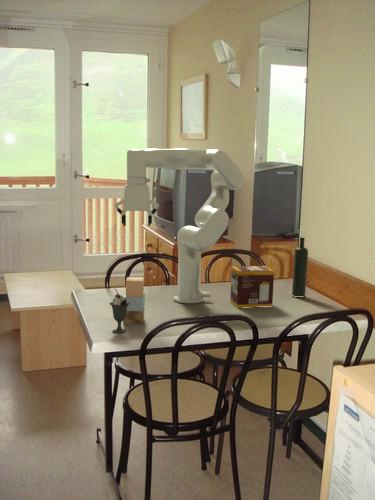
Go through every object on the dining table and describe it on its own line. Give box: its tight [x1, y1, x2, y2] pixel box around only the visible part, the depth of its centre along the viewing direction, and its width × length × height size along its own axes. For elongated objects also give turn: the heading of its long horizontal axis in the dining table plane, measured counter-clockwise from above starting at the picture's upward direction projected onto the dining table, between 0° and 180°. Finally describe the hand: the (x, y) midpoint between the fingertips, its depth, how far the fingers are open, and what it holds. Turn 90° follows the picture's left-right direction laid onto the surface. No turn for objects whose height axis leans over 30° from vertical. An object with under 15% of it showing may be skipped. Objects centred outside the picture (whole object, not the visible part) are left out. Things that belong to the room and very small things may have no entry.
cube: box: [125, 276, 145, 297], centre depth 218 cm, size 6×6×6 cm
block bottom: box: [122, 308, 145, 326], centre depth 219 cm, size 7×7×5 cm
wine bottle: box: [291, 229, 309, 297], centre depth 264 cm, size 6×6×30 cm
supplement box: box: [229, 265, 275, 309], centre depth 248 cm, size 10×15×16 cm
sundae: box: [109, 288, 129, 335], centre depth 206 cm, size 7×7×15 cm
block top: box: [123, 292, 146, 311], centre depth 218 cm, size 7×7×5 cm
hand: (136, 225), depth 234 cm, fingers open, 9 cm apart
